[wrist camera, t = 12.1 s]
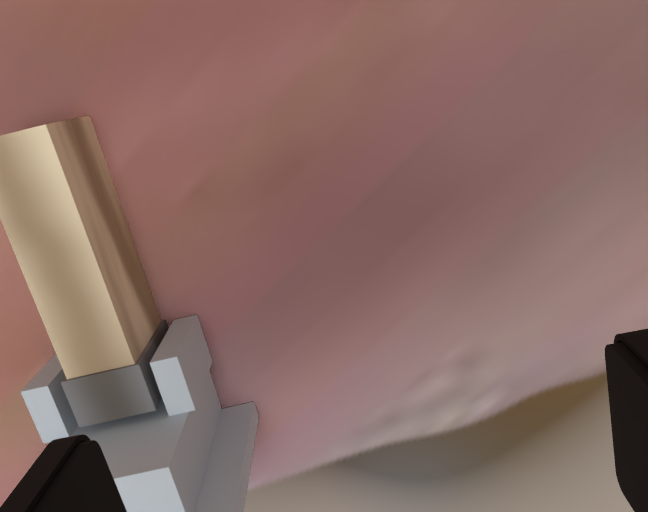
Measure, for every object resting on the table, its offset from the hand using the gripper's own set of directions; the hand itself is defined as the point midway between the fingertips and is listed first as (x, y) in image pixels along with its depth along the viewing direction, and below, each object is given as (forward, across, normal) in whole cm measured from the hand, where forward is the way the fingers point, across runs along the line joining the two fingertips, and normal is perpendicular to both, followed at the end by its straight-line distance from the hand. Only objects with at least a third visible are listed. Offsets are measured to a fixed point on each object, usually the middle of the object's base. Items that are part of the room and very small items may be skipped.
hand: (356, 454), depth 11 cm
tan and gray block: (+26, +16, +1) cm, 31 cm away
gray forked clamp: (+26, +16, +10) cm, 32 cm away
